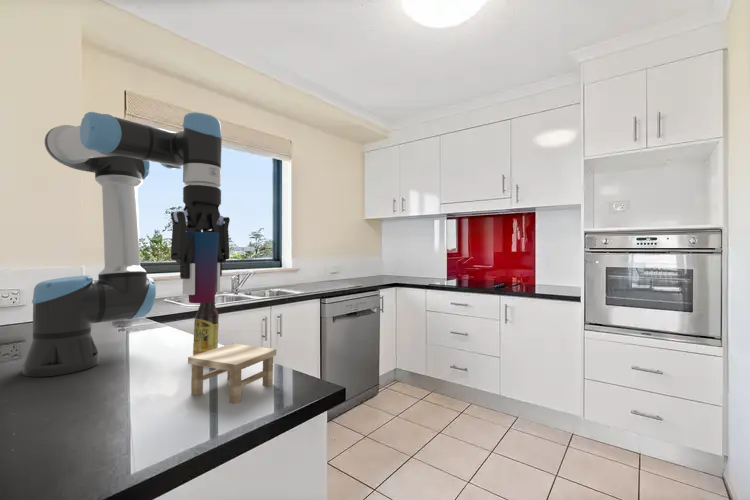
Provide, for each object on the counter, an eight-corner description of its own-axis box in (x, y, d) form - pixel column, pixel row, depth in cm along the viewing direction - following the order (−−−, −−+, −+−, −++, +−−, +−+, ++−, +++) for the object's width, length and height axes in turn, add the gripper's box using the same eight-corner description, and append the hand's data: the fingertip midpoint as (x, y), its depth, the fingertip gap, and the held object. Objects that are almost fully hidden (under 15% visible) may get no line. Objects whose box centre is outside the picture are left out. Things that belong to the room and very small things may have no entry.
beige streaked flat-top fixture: (187, 394, 79) (188, 357, 79) (232, 376, 91) (232, 343, 91) (235, 404, 74) (236, 364, 74) (275, 383, 86) (276, 349, 86)
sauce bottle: (187, 361, 102) (188, 289, 102) (205, 355, 108) (206, 287, 108) (205, 364, 100) (206, 290, 100) (223, 358, 106) (224, 288, 106)
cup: (204, 304, 76) (205, 231, 77) (176, 303, 78) (177, 232, 78) (225, 300, 83) (225, 233, 83) (199, 299, 84) (199, 233, 85)
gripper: (175, 177, 71) (175, 298, 70) (246, 192, 88) (246, 289, 88) (149, 180, 74) (148, 296, 73) (223, 194, 91) (222, 288, 91)
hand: (201, 292), depth 80 cm, fingers closed on cup, 6 cm apart
